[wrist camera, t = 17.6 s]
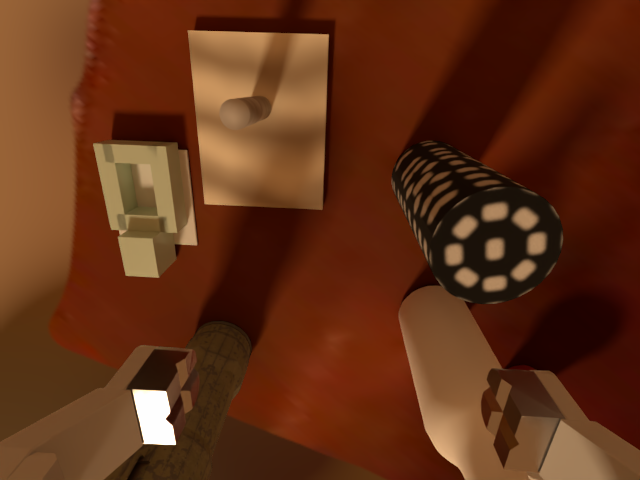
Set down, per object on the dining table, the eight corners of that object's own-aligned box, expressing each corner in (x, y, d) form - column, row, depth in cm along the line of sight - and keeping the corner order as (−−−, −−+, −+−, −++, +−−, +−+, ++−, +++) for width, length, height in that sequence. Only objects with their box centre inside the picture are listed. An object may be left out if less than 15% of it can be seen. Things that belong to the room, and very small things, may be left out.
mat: (103, 146, 43) (102, 146, 42) (187, 149, 42) (186, 150, 42) (122, 240, 47) (121, 241, 47) (197, 244, 47) (197, 245, 47)
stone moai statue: (231, 304, 50) (34, 692, 18) (266, 367, 54) (154, 776, 22) (176, 320, 52) (-95, 703, 20) (214, 381, 56) (40, 780, 24)
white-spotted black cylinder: (387, 147, 41) (424, 198, 22) (464, 134, 40) (568, 176, 21) (395, 216, 44) (433, 310, 26) (466, 206, 43) (558, 296, 25)
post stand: (193, 32, 37) (134, 11, 27) (329, 36, 37) (323, 16, 26) (209, 200, 44) (167, 236, 34) (322, 205, 44) (316, 243, 33)
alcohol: (442, 345, 51) (559, 652, 23) (386, 323, 50) (439, 614, 22) (477, 297, 48) (663, 588, 20) (418, 271, 47) (526, 540, 19)
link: (109, 139, 42) (80, 146, 37) (177, 142, 42) (156, 149, 37) (131, 256, 48) (109, 274, 43) (191, 259, 48) (175, 278, 43)
